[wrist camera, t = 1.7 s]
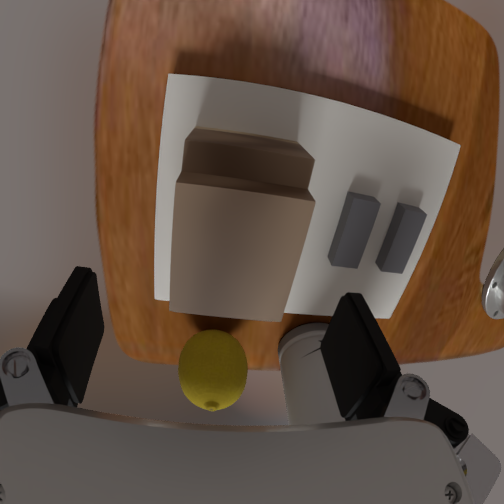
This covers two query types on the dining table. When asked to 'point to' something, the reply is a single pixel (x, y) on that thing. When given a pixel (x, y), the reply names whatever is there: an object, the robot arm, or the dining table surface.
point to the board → (313, 178)
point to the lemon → (212, 369)
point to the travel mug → (307, 377)
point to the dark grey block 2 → (400, 238)
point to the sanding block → (238, 224)
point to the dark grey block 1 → (353, 230)
